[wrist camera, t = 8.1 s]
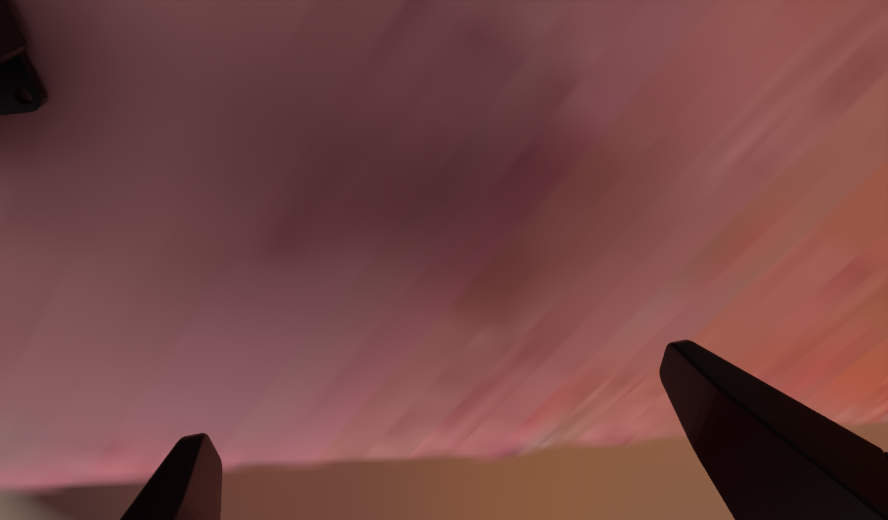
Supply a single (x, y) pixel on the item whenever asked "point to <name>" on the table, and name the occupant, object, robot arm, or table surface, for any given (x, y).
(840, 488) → the robot arm
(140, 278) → the table surface
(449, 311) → the table surface
